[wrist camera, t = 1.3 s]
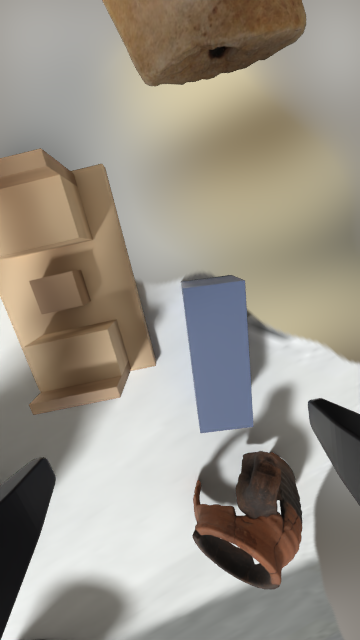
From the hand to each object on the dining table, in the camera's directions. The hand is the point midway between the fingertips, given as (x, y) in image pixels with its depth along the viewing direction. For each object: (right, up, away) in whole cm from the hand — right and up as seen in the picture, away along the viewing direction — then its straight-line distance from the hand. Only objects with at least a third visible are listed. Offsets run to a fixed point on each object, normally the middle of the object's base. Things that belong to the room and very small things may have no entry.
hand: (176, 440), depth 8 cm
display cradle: (-8, +6, +11) cm, 15 cm away
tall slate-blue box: (+3, +2, +13) cm, 13 cm away
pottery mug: (+6, -11, +16) cm, 21 cm away
